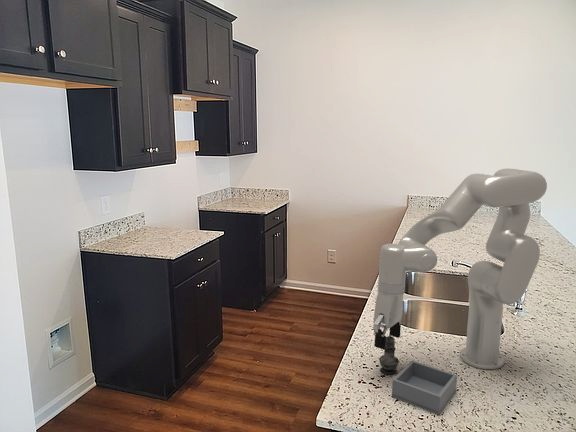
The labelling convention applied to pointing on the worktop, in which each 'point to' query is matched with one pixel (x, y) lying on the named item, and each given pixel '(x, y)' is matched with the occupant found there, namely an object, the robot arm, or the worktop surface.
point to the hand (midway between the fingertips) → (387, 341)
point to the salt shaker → (389, 358)
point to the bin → (424, 386)
